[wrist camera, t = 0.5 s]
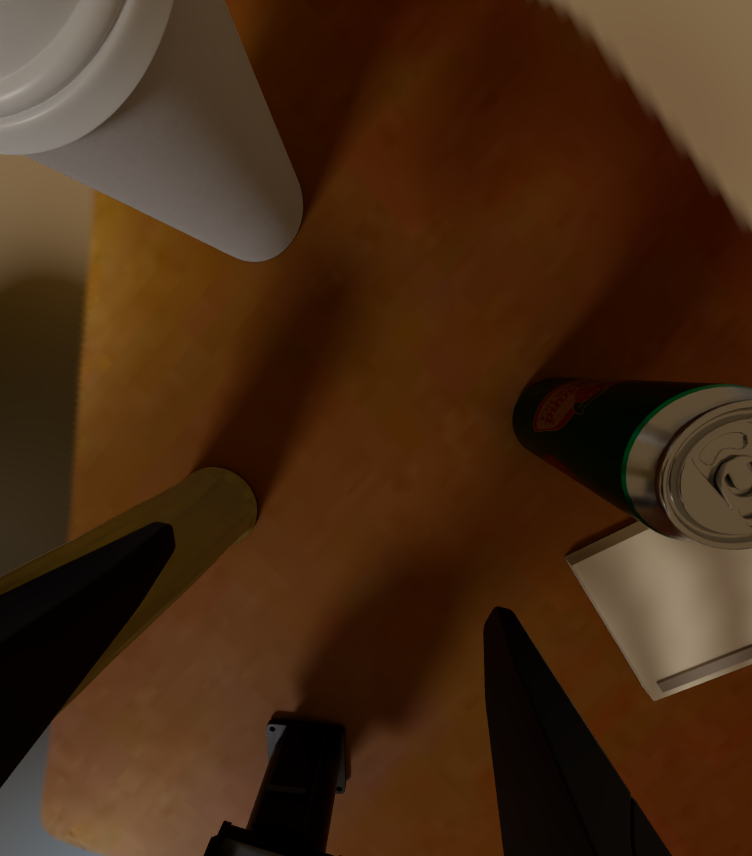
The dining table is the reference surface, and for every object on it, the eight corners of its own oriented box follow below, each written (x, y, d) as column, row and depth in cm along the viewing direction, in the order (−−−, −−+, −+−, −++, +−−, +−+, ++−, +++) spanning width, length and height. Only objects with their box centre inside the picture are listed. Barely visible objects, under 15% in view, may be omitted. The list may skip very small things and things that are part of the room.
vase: (164, 499, 24) (-171, 677, 10) (218, 449, 23) (-75, 571, 9) (219, 557, 24) (-28, 806, 10) (275, 511, 23) (81, 720, 9)
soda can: (566, 360, 20) (803, 346, 8) (606, 427, 20) (886, 505, 8) (494, 406, 21) (612, 453, 9) (534, 469, 21) (698, 592, 9)
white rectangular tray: (643, 687, 23) (655, 703, 22) (564, 556, 22) (572, 567, 21) (852, 605, 21) (878, 619, 20) (776, 454, 20) (799, 459, 18)
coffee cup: (197, 297, 21) (-279, 128, 6) (164, 135, 20) (-568, -585, 5) (338, 275, 20) (154, 11, 5) (315, 101, 18) (-34, -943, 4)
